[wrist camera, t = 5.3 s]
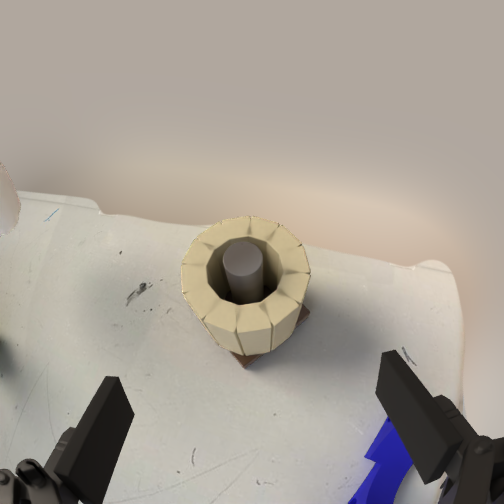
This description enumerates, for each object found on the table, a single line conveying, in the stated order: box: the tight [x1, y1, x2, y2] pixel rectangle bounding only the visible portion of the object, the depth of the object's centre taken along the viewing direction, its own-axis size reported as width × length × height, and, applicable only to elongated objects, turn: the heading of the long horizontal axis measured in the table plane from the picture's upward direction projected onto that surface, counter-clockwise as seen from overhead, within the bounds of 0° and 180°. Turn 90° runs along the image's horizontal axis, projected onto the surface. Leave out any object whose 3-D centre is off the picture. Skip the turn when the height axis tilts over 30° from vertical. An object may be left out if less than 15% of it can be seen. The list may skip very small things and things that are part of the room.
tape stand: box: [223, 242, 310, 369], centre depth 24 cm, size 8×8×11 cm
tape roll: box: [181, 216, 311, 356], centre depth 24 cm, size 9×9×8 cm
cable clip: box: [348, 417, 413, 504], centre depth 18 cm, size 12×4×6 cm, turn 146°
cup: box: [0, 161, 21, 237], centre depth 24 cm, size 7×7×21 cm
